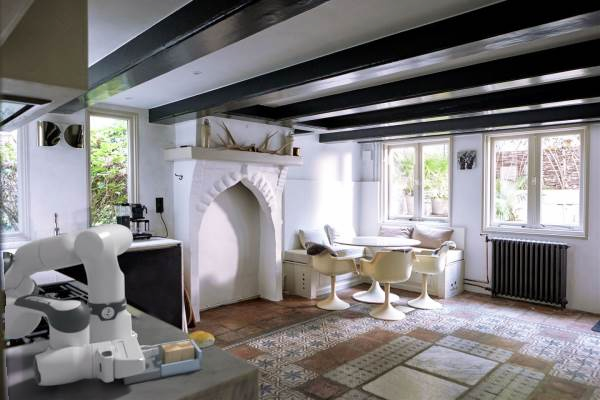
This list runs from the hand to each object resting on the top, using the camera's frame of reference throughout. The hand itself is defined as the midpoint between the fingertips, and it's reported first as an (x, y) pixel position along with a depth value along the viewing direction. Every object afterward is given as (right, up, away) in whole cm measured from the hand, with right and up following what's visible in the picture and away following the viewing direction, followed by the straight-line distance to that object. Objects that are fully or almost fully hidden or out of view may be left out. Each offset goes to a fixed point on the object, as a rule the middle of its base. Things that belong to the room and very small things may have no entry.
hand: (158, 349), depth 121 cm
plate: (-4, -6, -2) cm, 7 cm away
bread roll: (+7, -6, +20) cm, 22 cm away
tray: (+5, -5, +3) cm, 8 cm away
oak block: (+1, -3, +1) cm, 3 cm away
